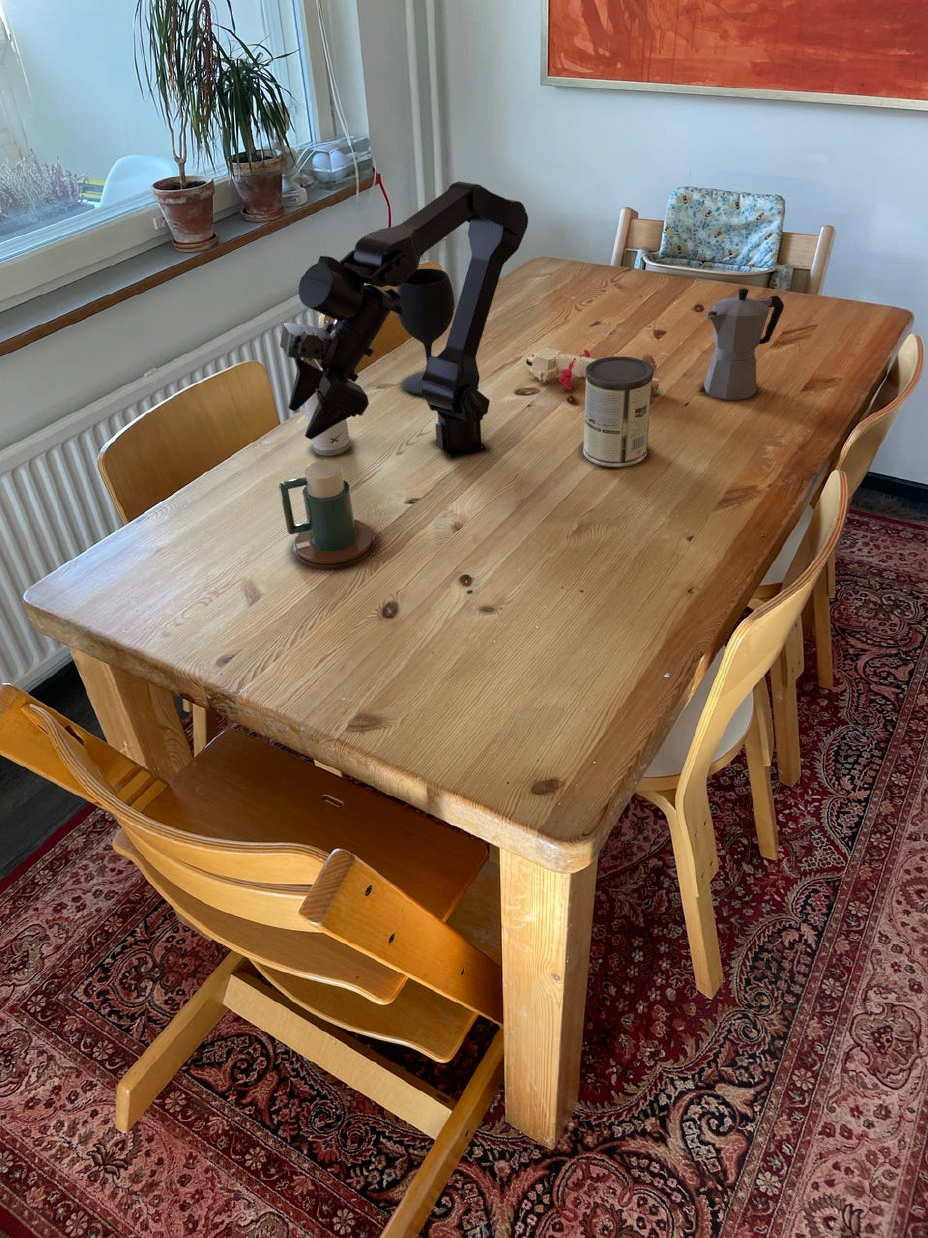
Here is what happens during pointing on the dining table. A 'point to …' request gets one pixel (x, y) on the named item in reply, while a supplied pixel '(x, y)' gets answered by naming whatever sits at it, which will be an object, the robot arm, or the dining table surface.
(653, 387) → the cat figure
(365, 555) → the turntable
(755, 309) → the coffeepot
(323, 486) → the green cylinder with handle
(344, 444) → the travel mug
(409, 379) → the wine glass
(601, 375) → the coffee can
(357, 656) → the dining table surface
